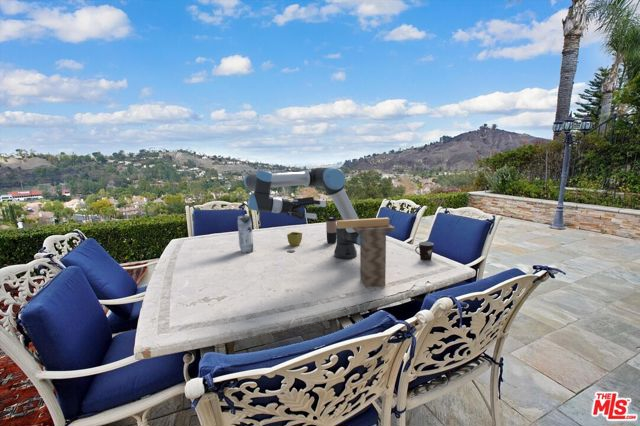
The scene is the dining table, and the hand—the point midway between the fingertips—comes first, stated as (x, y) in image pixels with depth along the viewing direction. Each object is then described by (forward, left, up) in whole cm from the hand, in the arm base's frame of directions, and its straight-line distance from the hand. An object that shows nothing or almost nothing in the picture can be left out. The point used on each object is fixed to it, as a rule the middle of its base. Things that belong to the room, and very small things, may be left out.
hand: (320, 210), depth 148 cm
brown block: (+21, +6, -7) cm, 23 cm away
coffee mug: (+35, +59, -37) cm, 78 cm away
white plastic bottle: (-75, +9, -37) cm, 84 cm away
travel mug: (-35, +59, -37) cm, 78 cm away
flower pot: (-55, +39, -37) cm, 77 cm away
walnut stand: (+25, +10, -37) cm, 46 cm away
